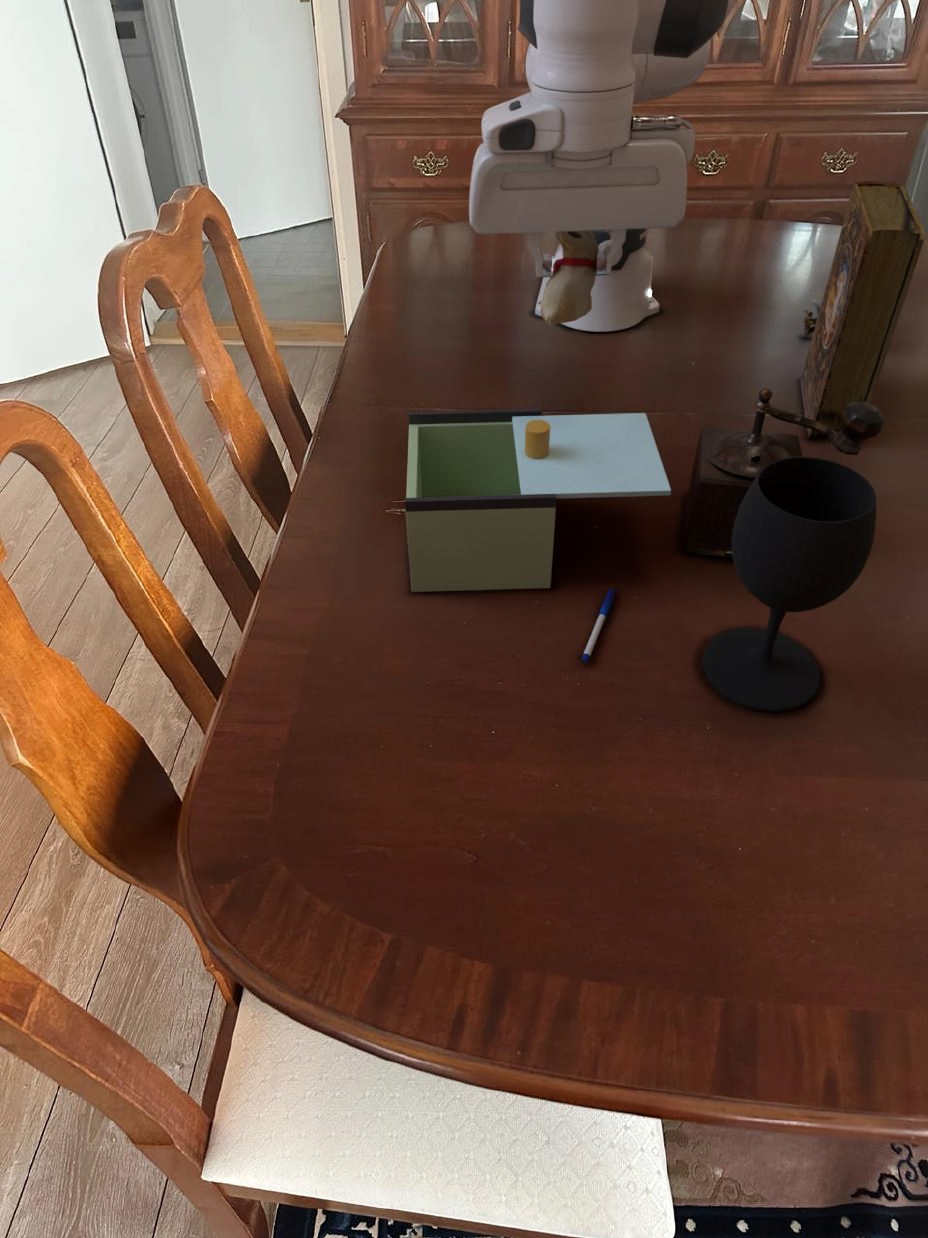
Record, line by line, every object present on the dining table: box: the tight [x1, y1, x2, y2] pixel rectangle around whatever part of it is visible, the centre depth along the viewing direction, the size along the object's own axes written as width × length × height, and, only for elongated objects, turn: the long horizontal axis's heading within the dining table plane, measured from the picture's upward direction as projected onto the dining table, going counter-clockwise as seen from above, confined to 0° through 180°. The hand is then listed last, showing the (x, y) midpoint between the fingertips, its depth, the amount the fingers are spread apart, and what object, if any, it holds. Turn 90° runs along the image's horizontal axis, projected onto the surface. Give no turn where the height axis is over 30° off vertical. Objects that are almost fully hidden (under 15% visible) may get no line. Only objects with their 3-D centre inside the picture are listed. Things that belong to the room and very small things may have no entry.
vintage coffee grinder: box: [682, 388, 885, 560], centre depth 90 cm, size 16×11×18 cm
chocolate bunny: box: [540, 230, 599, 326], centre depth 87 cm, size 6×8×10 cm
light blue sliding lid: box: [512, 412, 672, 500], centre depth 87 cm, size 14×14×4 cm
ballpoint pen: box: [581, 587, 616, 664], centre depth 85 cm, size 10×1×1 cm, turn 160°
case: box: [404, 407, 557, 593], centre depth 92 cm, size 16×14×11 cm
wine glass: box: [702, 456, 877, 713], centre depth 74 cm, size 10×10×20 cm
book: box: [800, 180, 926, 439], centre depth 105 cm, size 16×6×25 cm, turn 168°
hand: (572, 274), depth 88 cm, fingers closed on chocolate bunny, 4 cm apart
